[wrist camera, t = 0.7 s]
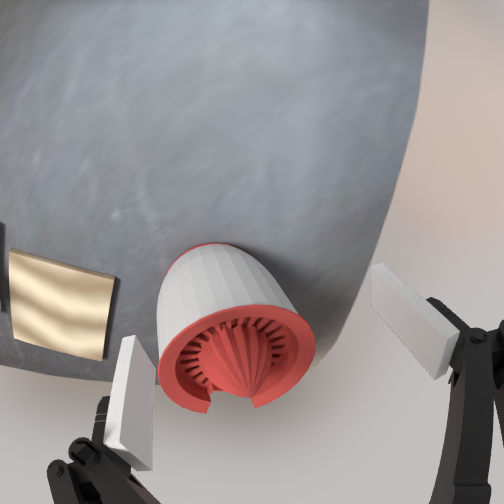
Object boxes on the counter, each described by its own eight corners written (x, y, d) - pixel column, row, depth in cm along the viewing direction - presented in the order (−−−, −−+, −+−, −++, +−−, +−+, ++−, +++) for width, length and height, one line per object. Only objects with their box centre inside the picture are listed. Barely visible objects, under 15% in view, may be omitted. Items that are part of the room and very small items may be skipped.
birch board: (11, 248, 30) (9, 251, 29) (114, 276, 37) (114, 280, 36) (15, 333, 35) (14, 337, 34) (102, 357, 42) (101, 361, 41)
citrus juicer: (153, 331, 42) (165, 449, 25) (155, 223, 35) (157, 334, 18) (250, 329, 48) (298, 431, 31) (273, 230, 40) (354, 322, 23)
